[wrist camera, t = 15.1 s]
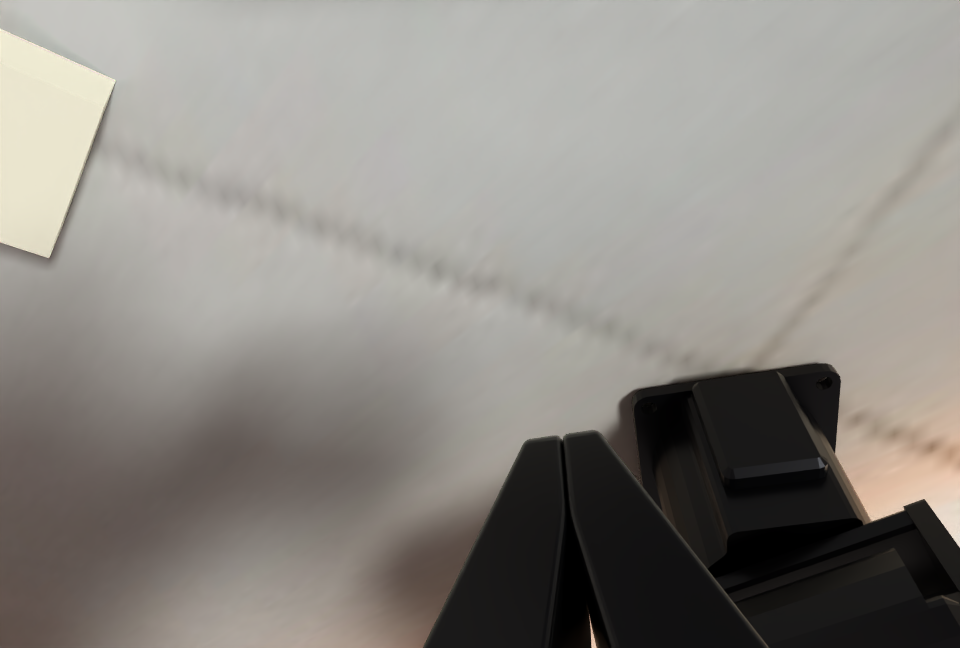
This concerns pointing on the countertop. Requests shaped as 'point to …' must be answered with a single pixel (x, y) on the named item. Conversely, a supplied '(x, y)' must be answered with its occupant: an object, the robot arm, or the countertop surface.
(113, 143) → the countertop surface
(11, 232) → the domino
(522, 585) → the robot arm
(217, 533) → the countertop surface
